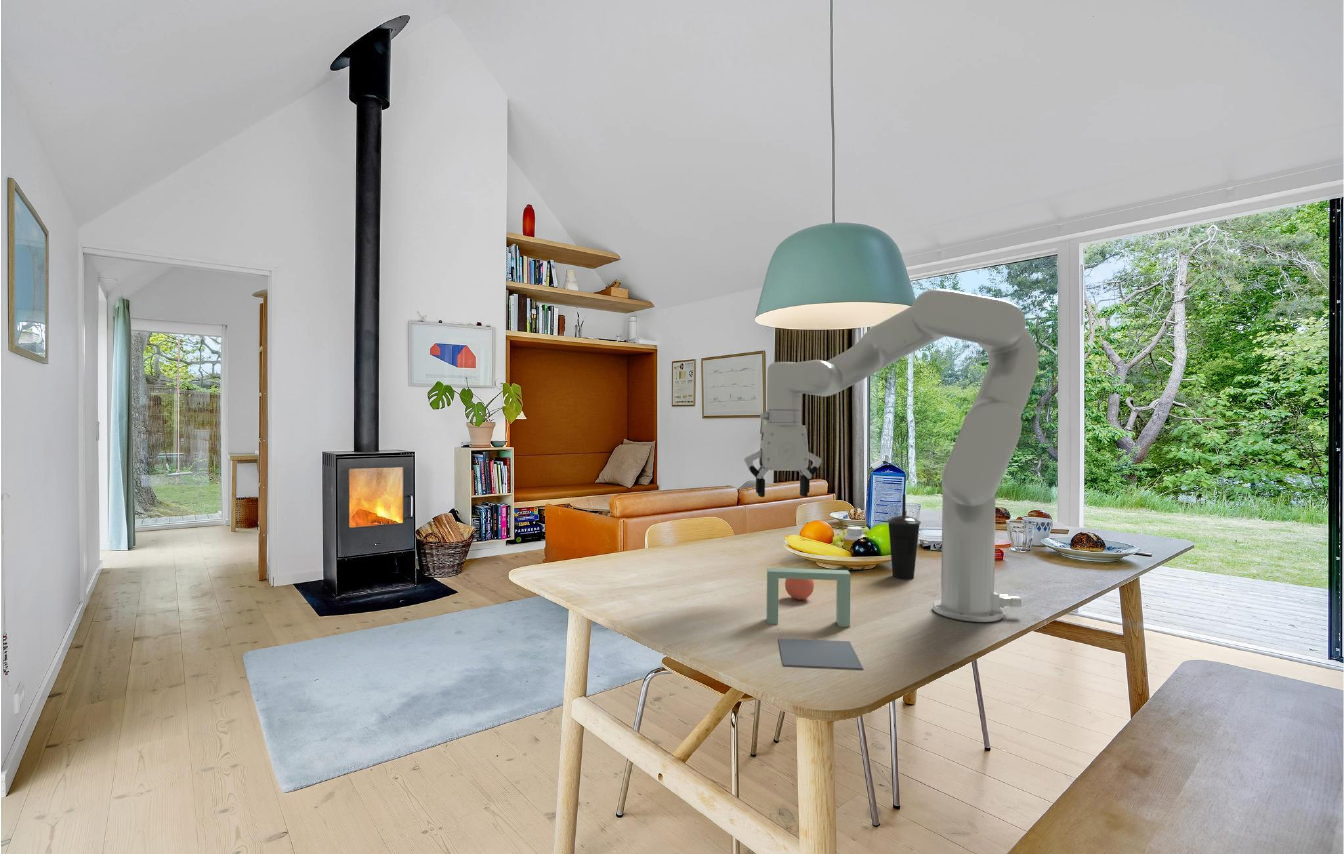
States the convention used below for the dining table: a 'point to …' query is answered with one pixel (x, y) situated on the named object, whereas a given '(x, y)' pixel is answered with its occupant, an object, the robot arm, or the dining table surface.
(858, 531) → the supplement bottle
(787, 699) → the dining table surface
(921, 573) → the dining table surface
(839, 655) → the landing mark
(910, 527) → the drinking cup
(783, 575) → the bridge
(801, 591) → the ball
